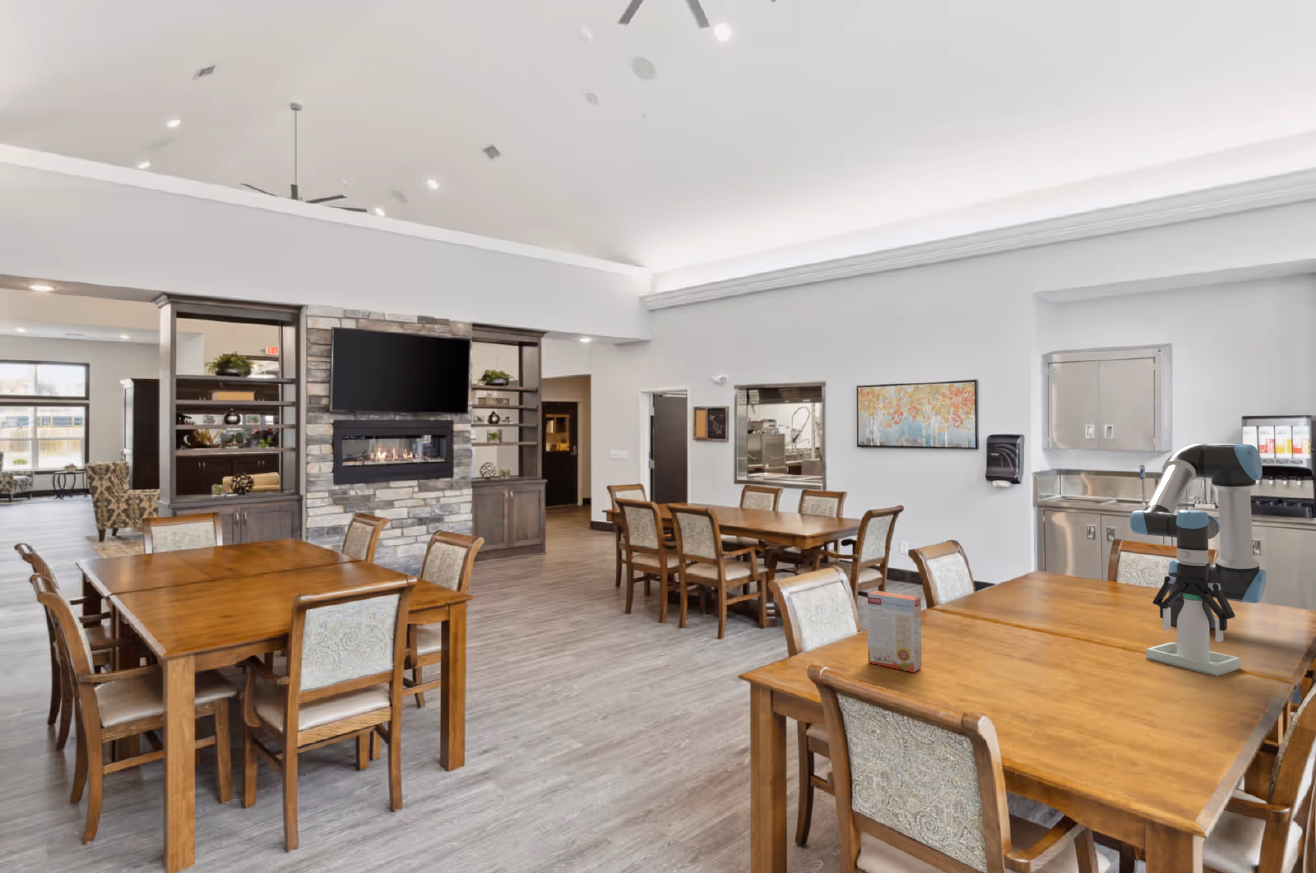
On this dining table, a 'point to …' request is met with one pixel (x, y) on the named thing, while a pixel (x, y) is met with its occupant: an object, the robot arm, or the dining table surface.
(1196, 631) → the milk bottle
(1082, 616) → the dining table surface
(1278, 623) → the dining table surface
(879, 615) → the cracker box
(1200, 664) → the tray
